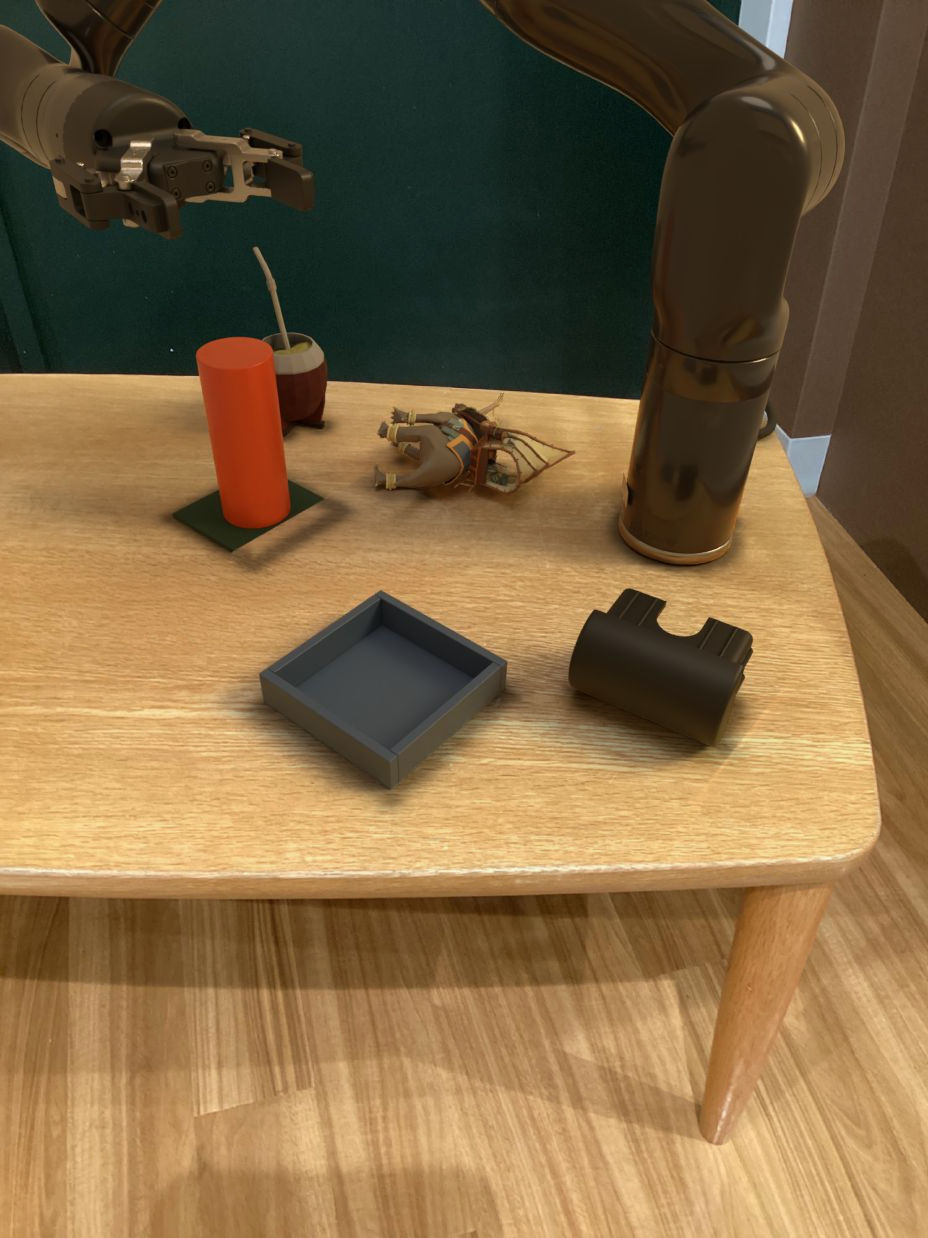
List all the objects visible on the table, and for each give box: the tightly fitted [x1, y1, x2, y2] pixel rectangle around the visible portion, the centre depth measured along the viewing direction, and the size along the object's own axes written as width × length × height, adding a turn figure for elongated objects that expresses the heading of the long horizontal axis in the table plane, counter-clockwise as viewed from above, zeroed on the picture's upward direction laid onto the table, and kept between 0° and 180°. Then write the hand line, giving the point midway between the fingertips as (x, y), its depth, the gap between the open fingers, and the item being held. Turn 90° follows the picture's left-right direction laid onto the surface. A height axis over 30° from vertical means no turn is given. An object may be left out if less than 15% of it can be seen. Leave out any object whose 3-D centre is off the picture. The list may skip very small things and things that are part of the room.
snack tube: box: [195, 336, 291, 529], centre depth 73 cm, size 6×6×14 cm
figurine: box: [374, 392, 576, 496], centre depth 81 cm, size 20×6×17 cm
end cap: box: [567, 587, 754, 747], centre depth 59 cm, size 10×7×7 cm
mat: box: [171, 479, 326, 553], centre depth 78 cm, size 10×10×1 cm
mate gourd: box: [252, 246, 328, 438], centre depth 85 cm, size 8×8×15 cm
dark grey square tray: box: [258, 589, 508, 791], centre depth 61 cm, size 11×11×3 cm
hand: (244, 205), depth 52 cm, fingers open, 8 cm apart
